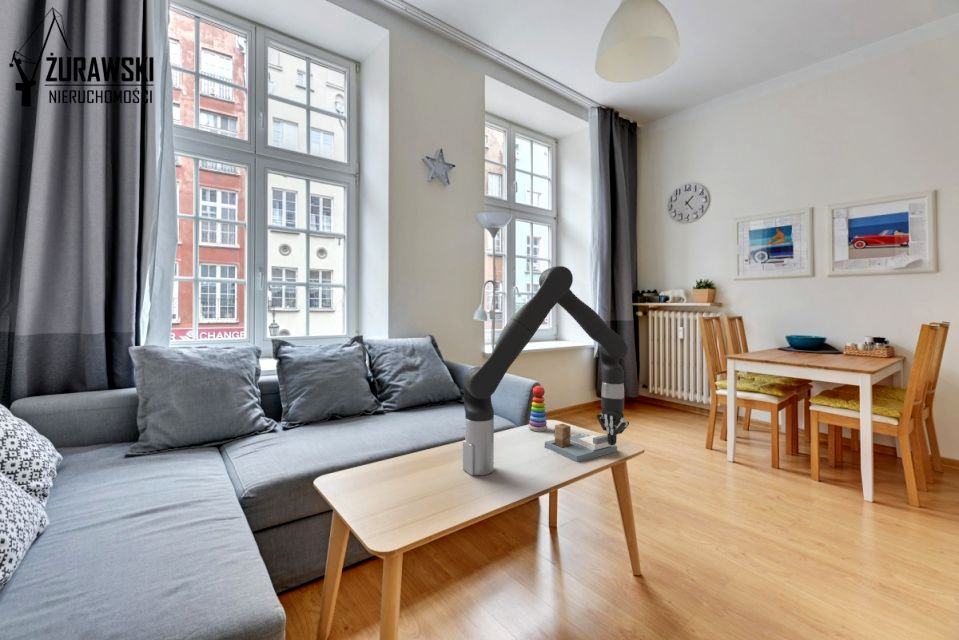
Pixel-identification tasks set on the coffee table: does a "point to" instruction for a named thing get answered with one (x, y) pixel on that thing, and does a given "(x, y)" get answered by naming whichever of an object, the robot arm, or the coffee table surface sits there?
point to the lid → (594, 442)
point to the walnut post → (562, 435)
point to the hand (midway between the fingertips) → (611, 444)
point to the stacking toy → (538, 411)
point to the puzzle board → (579, 449)
